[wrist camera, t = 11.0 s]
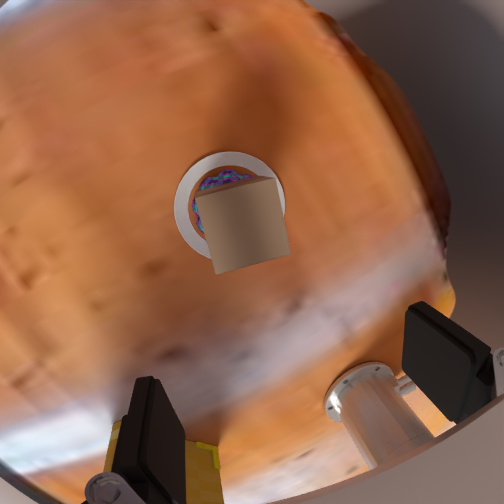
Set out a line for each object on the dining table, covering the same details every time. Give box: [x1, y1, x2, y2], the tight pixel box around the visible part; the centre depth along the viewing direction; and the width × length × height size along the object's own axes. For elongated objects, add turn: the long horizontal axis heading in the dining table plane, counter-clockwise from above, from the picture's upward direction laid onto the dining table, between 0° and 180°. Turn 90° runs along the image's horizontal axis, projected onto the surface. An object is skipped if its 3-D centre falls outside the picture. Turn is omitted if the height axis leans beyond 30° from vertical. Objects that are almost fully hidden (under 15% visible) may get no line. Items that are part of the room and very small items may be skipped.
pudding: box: [174, 152, 285, 259], centre depth 31 cm, size 12×12×5 cm
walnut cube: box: [195, 175, 291, 275], centre depth 26 cm, size 6×6×6 cm
